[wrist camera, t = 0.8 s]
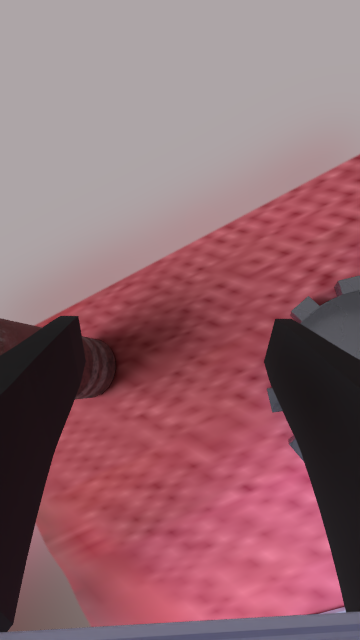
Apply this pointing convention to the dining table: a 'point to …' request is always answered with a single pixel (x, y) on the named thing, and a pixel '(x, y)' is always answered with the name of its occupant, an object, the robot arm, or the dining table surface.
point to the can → (97, 353)
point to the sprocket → (330, 326)
